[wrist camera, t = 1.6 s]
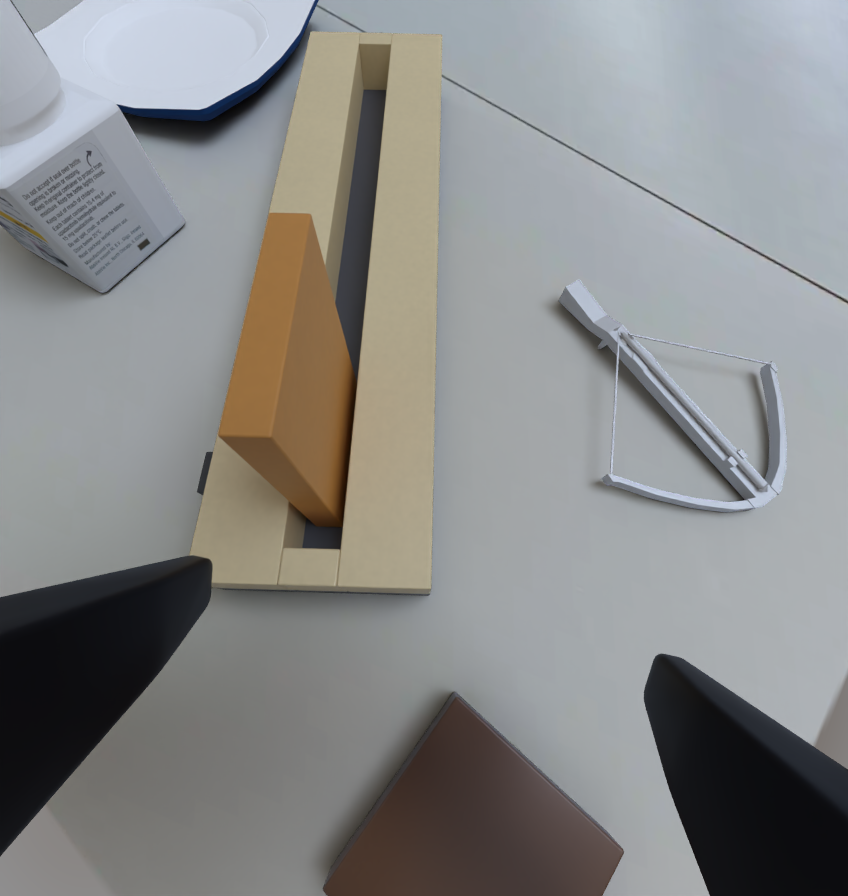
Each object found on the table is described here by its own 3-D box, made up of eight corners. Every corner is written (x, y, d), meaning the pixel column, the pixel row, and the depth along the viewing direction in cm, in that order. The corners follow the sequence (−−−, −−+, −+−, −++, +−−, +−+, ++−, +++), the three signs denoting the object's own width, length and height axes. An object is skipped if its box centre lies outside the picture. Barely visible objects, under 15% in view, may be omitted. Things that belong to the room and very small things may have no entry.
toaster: (429, 595, 21) (431, 589, 17) (208, 589, 21) (162, 581, 17) (440, 94, 36) (442, 33, 32) (312, 91, 36) (299, 30, 32)
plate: (223, 159, 33) (207, 121, 30) (11, 97, 36) (-19, 57, 33) (340, 24, 40) (335, -15, 38) (157, -19, 43) (141, -58, 40)
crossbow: (822, 448, 25) (858, 435, 23) (665, 571, 22) (690, 569, 20) (636, 258, 29) (653, 233, 27) (484, 343, 26) (491, 322, 24)
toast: (344, 527, 21) (271, 437, 11) (315, 526, 21) (216, 435, 11) (358, 386, 24) (311, 212, 14) (333, 385, 24) (268, 211, 14)
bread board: (493, 1057, 15) (500, 1101, 14) (329, 868, 17) (321, 890, 15) (609, 833, 17) (625, 851, 16) (454, 690, 19) (456, 695, 18)
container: (25, 249, 29) (-253, -14, 17) (112, 183, 32) (-78, -86, 20) (105, 297, 28) (-139, 45, 16) (189, 224, 30) (35, -42, 18)
